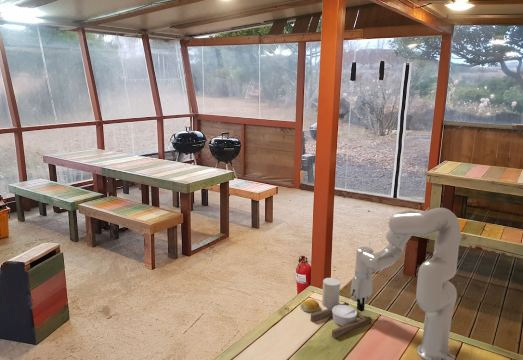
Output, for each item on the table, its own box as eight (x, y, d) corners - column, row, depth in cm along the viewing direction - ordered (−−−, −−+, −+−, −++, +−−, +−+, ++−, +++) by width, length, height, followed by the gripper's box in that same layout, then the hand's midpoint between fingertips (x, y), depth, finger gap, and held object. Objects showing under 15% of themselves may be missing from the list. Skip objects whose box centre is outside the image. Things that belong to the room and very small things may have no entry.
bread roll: (322, 309, 204) (323, 301, 203) (308, 314, 199) (309, 307, 198) (310, 302, 211) (311, 294, 210) (297, 307, 205) (297, 299, 204)
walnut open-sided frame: (370, 323, 192) (371, 317, 191) (334, 338, 180) (334, 331, 180) (346, 308, 205) (346, 302, 204) (310, 320, 193) (310, 314, 193)
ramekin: (355, 330, 187) (355, 319, 186) (329, 325, 190) (330, 314, 189) (357, 317, 197) (358, 307, 196) (333, 313, 201) (334, 302, 200)
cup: (318, 301, 211) (319, 279, 208) (332, 298, 214) (333, 276, 211) (327, 309, 203) (329, 286, 201) (341, 306, 207) (343, 283, 204)
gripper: (368, 267, 202) (366, 302, 206) (345, 274, 194) (342, 310, 198) (380, 273, 195) (377, 309, 199) (357, 280, 188) (354, 318, 192)
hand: (360, 310), depth 199 cm, fingers closed
